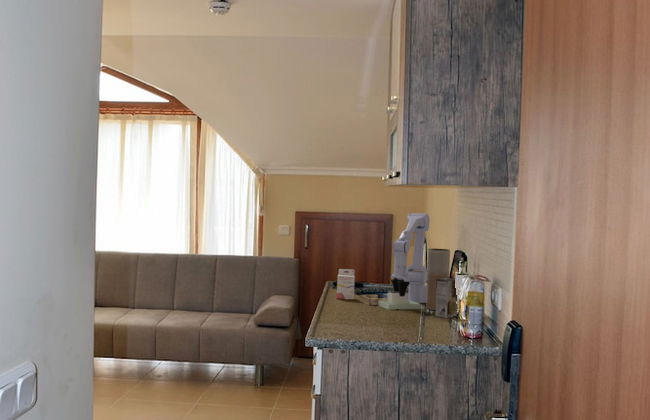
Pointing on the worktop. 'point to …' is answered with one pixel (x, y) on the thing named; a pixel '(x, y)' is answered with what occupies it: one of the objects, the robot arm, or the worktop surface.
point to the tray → (399, 305)
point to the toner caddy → (397, 298)
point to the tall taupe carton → (436, 273)
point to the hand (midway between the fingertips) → (399, 295)
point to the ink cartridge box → (345, 284)
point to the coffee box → (446, 298)
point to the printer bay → (371, 299)
